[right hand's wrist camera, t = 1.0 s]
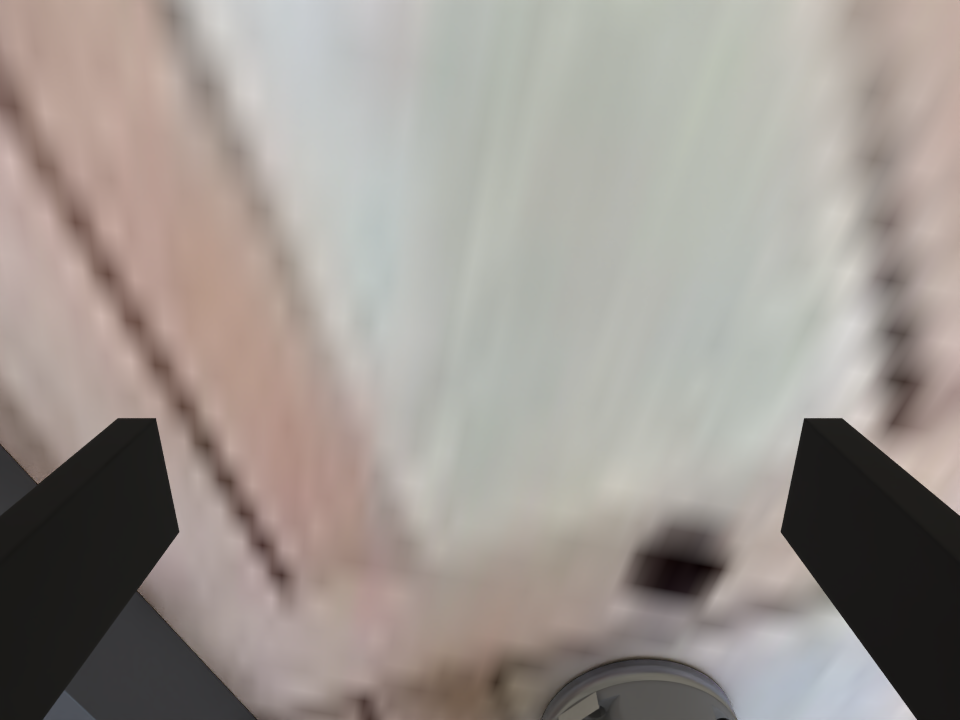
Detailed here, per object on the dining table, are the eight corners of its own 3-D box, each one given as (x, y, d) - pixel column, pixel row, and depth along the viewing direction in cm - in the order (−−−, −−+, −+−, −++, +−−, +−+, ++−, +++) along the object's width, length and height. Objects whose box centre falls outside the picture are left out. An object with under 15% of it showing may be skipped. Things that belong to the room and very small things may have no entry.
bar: (293, 757, 51) (259, 873, 43) (247, 775, 52) (207, 892, 44) (-251, 175, 34) (-465, 195, 26) (-306, 214, 35) (-530, 245, 27)
